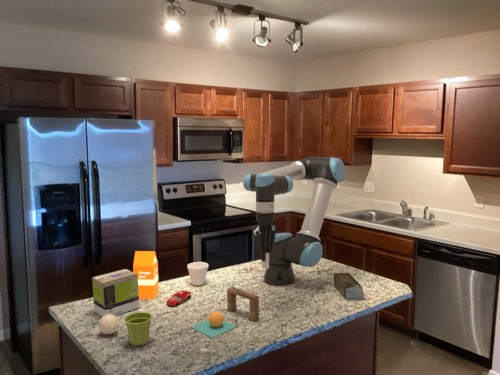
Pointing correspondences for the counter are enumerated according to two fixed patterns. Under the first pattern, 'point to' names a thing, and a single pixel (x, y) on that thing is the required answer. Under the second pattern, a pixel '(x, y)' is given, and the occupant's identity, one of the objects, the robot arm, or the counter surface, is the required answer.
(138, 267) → the orange juice
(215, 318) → the ball
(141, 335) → the plant pot
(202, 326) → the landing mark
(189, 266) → the cup
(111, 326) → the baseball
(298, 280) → the counter surface
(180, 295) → the race car
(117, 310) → the tea box
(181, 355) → the counter surface
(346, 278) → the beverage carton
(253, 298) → the bridge
